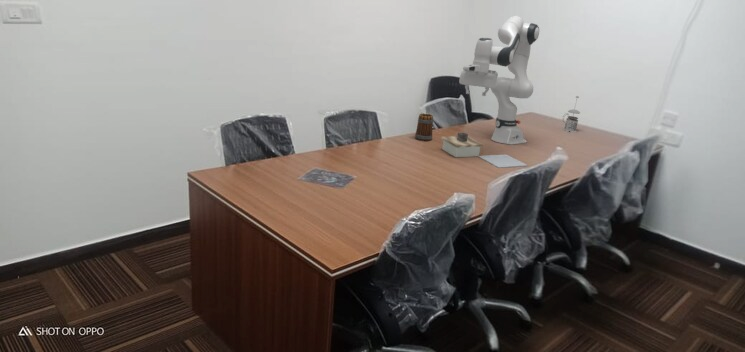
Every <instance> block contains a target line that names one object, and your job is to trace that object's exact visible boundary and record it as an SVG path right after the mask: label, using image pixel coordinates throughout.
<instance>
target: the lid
mask: <svg viewBox="0 0 745 352" xmlns="http://www.w3.org/2000/svg"><path fill="white" fill-rule="evenodd" d="M440 139H441V140H442V141H443V140H444V141H446V142H448V143H449V144H451V145H453V146H455V147H456V148H459V147H480V148H481V147H484V143H482V142H479V141H477V140H476V139H474V138H472V137H470V136H469V133H468V134H467V133H466V132H458V133H457V135H456V136H454V135H453V136H452V135H451V136H441V137H440Z"/></svg>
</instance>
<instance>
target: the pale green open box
mask: <svg viewBox="0 0 745 352" xmlns="http://www.w3.org/2000/svg"><path fill="white" fill-rule="evenodd" d="M441 149H442V150H443V151H444V152H446V153H448V154H449V155H451V156H453V157H454V158H470V157H471V158H472V157H473V158H474V157H478V156H480V150H481V147H459V148H456V147H455V146H453V145H451V144H449V143H448V142H446V141H444V140H442V148H441Z"/></svg>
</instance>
